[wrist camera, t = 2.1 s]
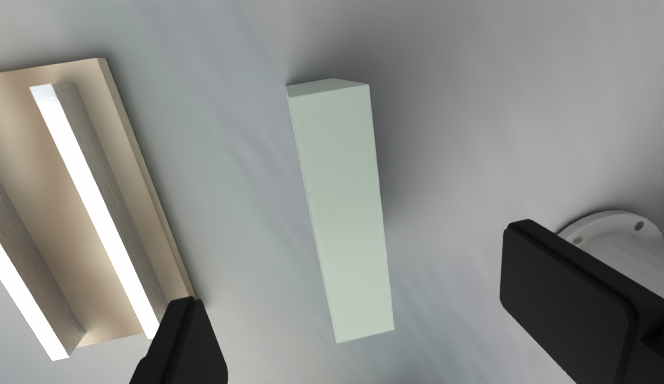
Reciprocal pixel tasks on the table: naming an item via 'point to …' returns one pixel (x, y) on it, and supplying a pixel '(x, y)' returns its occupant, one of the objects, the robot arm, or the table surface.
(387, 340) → the table surface
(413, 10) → the table surface
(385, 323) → the door panel
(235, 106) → the table surface
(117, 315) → the bottom track
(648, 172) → the table surface
